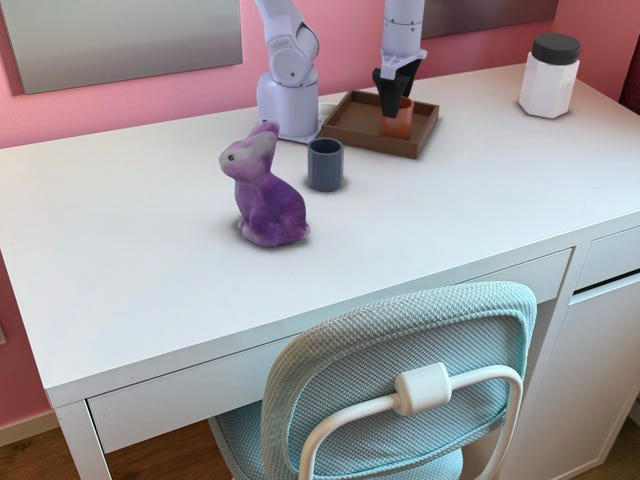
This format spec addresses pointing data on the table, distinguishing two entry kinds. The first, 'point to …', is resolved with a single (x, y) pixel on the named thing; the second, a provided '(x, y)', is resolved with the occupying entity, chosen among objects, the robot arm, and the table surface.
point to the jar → (550, 75)
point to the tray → (377, 125)
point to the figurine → (263, 190)
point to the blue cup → (325, 164)
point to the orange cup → (398, 121)
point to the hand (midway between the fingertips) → (395, 106)
